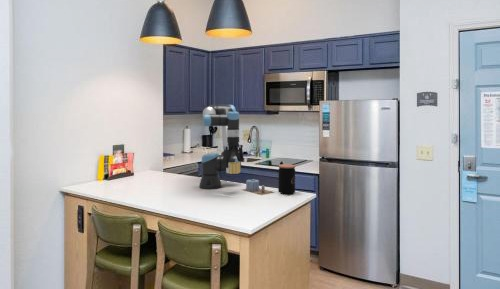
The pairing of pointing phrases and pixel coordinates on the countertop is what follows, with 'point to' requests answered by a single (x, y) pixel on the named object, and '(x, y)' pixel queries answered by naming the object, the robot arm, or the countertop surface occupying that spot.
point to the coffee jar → (286, 179)
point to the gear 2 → (252, 185)
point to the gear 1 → (234, 168)
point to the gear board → (260, 191)
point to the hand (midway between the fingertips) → (233, 172)
